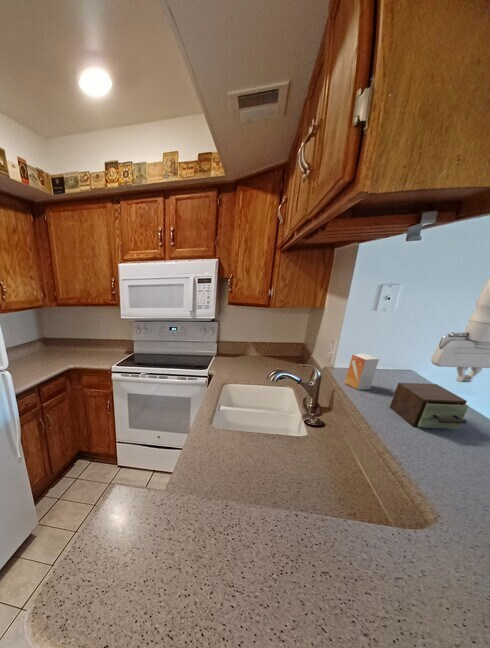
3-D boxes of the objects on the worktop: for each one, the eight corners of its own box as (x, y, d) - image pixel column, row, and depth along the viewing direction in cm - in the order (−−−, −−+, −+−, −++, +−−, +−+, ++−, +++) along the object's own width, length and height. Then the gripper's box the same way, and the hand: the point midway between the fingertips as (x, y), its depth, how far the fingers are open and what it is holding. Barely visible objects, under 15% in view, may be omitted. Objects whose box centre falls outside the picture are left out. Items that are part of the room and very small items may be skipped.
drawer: (467, 435, 100) (479, 412, 96) (427, 433, 101) (437, 410, 97) (430, 410, 116) (439, 389, 113) (396, 408, 117) (404, 388, 114)
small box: (344, 383, 143) (352, 354, 137) (357, 382, 144) (365, 353, 138) (356, 390, 136) (365, 359, 130) (370, 389, 137) (379, 358, 131)
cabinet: (454, 428, 106) (467, 400, 101) (412, 426, 107) (423, 399, 103) (426, 408, 120) (436, 383, 115) (389, 407, 121) (398, 382, 116)
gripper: (451, 334, 87) (431, 384, 94) (536, 336, 85) (509, 386, 91) (436, 330, 92) (419, 377, 99) (516, 331, 90) (492, 379, 97)
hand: (463, 381), depth 95 cm, fingers closed
